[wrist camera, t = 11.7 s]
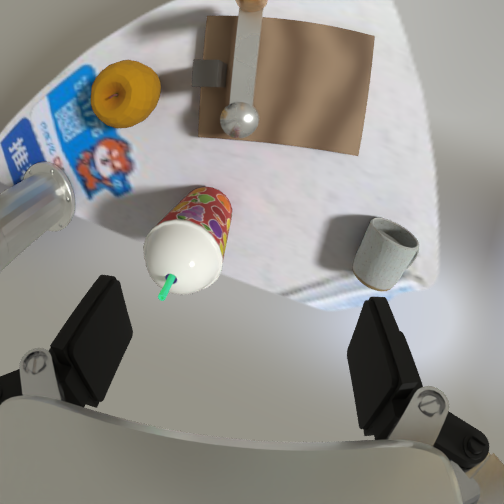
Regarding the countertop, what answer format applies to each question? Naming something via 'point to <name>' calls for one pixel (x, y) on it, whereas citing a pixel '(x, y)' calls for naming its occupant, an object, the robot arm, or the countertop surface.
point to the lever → (244, 71)
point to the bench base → (291, 83)
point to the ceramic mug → (384, 254)
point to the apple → (125, 93)
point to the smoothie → (189, 243)
